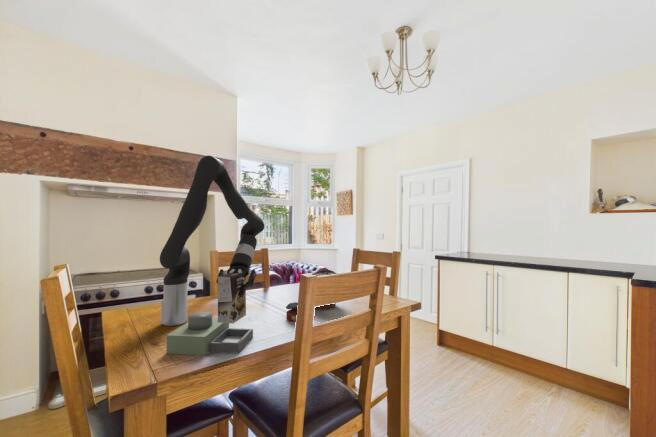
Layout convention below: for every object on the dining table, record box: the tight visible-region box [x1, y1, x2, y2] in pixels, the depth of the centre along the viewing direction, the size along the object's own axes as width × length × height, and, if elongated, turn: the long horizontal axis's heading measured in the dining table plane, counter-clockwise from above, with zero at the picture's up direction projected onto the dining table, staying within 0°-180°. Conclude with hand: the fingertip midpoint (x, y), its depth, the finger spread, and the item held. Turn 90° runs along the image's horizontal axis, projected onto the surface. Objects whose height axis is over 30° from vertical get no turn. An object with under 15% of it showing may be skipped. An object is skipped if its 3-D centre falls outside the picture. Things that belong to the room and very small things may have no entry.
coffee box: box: [217, 272, 247, 324], centre depth 103 cm, size 9×6×16 cm
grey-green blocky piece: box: [166, 311, 254, 356], centre depth 103 cm, size 24×18×10 cm
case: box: [311, 269, 338, 311], centre depth 147 cm, size 18×20×18 cm
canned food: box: [285, 301, 299, 323], centre depth 130 cm, size 11×10×10 cm
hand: (230, 295), depth 101 cm, fingers closed on coffee box, 7 cm apart
